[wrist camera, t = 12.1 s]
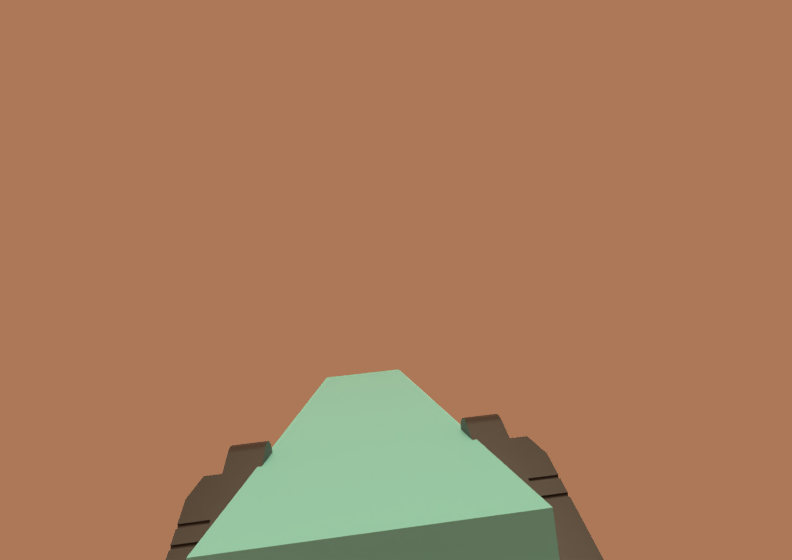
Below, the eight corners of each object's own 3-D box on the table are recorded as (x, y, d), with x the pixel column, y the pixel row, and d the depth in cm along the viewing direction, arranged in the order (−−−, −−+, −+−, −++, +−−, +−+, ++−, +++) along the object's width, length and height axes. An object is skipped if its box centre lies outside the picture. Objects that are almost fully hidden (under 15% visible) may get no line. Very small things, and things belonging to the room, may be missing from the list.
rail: (333, 451, 28) (326, 377, 28) (406, 442, 28) (398, 369, 29) (213, 984, 5) (185, 557, 5) (605, 905, 5) (552, 507, 6)
